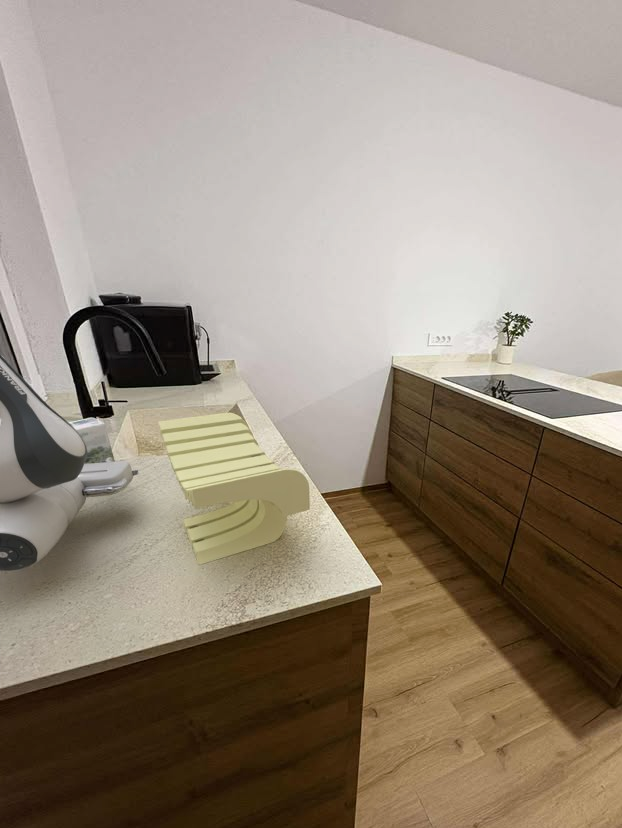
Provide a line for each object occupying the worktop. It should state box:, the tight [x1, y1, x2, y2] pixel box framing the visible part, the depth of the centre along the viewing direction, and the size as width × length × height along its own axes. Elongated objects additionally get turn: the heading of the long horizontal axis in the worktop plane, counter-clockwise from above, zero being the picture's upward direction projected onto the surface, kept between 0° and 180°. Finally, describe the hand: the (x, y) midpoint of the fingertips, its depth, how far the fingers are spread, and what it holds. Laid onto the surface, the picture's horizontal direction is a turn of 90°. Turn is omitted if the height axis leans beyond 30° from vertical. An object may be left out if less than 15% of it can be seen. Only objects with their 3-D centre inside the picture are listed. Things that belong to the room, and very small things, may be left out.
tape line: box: [132, 469, 139, 475], centre depth 89 cm, size 12×2×1 cm, turn 106°
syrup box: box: [67, 417, 116, 464], centre depth 81 cm, size 6×6×14 cm
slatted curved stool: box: [157, 412, 311, 566], centre depth 67 cm, size 30×16×18 cm, turn 32°
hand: (81, 462), depth 76 cm, fingers open, 8 cm apart
